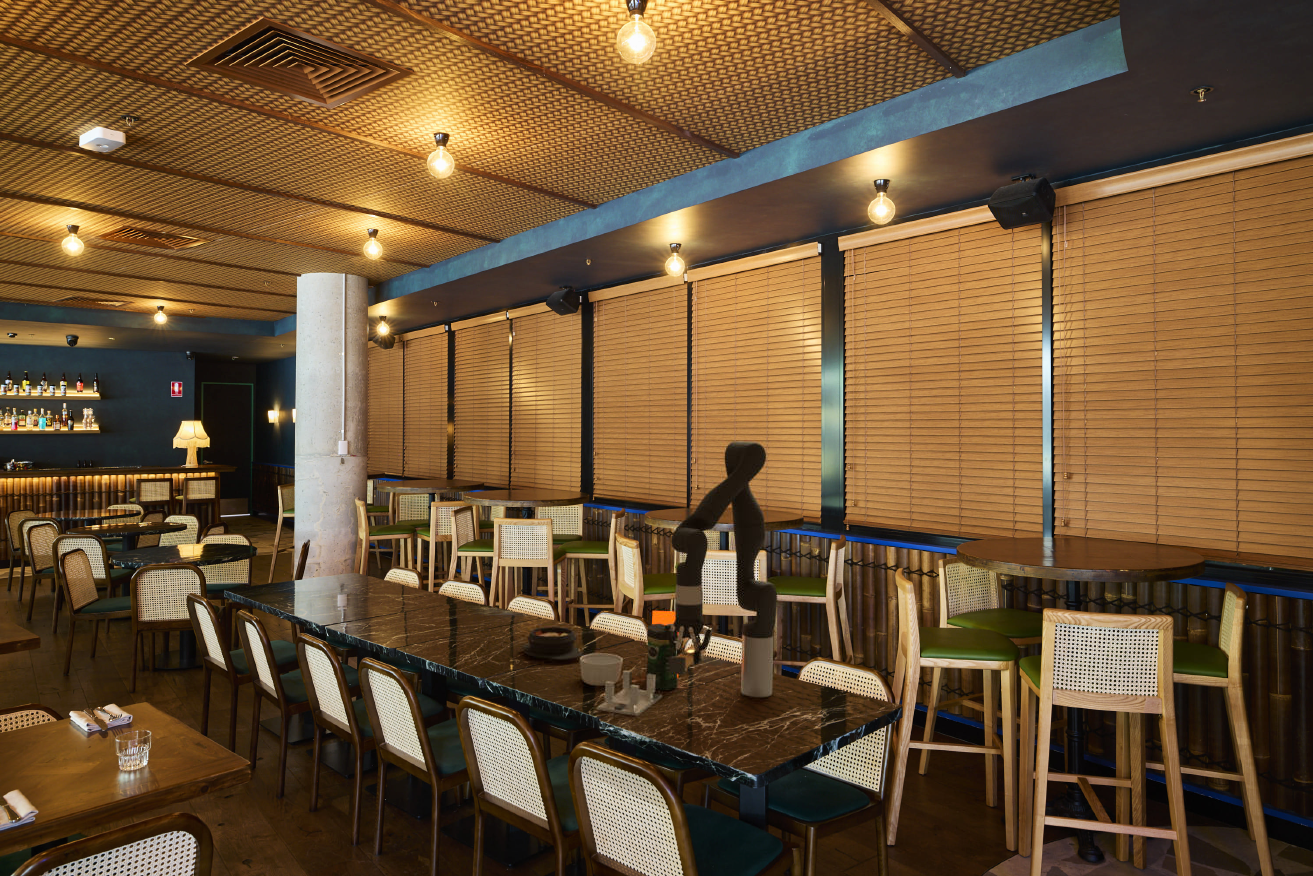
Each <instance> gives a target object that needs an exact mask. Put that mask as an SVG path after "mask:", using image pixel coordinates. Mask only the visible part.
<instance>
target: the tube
mask: <svg viewBox="0 0 1313 876" xmlns="http://www.w3.org/2000/svg"><path fill="white" fill-rule="evenodd" d="M701 645H702V642H701ZM694 651H695V649H694V645H693V644H691V645H690V646H689V647H687V648H686V649H684V650H683V652H682V653H681V654H679V655H678V656H677V657H675V656H670V657H669V673H672V674H678V675H681V676H682V675H683V676H684V675H685V674H686V670H687V668H689V667H690V666H691V665H692V664H694ZM706 653H707V648H706V649H704V650H701V657H702V656H704V655H705V654H706Z"/></svg>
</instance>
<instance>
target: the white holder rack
mask: <svg viewBox="0 0 1313 876" xmlns="http://www.w3.org/2000/svg"><path fill="white" fill-rule="evenodd" d="M622 672H623V673H622V690H620V691H619V692H617V693H616V694H615V684H614V682H610V681H607V682H606V683H605V686H604V700H605V701H604V702H602V703H601V704H599V705H598V706H597V707H596V710H597V711H604V712H608V713H616V714H621V715H628V716H635V717H638V716H639V715H641V714H642V713H643V712H645V711H646V710H648V708H651V706H652V705H654V704H655V703H656V702H658V701H659V700H661V698H662V697H663V695H662V694H660V693H655V692H656V688H655V674H648V675H647V684H646V689H644V690H643V689H640V685H637V684H632V673H633V672H632V670H623V671H622Z"/></svg>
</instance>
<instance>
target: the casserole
mask: <svg viewBox="0 0 1313 876" xmlns="http://www.w3.org/2000/svg"><path fill="white" fill-rule="evenodd" d="M526 640H527V641H528V643H525V644H523V645H521V649H522V650H523V651H524V653H525V654H526V655H528V656H531V657H534V658H537V659H540V660H545V661H564V660H571V659H577V658H581V657H582V656H584V653H583V652H582V651H580V650H579V648H578V647H576V646H575V642H576V640H577V636H576V635H575V632H574V630H572V629H570V628H567V627H557V626H548V627H540V628H534V629H532V630H530V632H529V635H528V636H527V637H526Z"/></svg>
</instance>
